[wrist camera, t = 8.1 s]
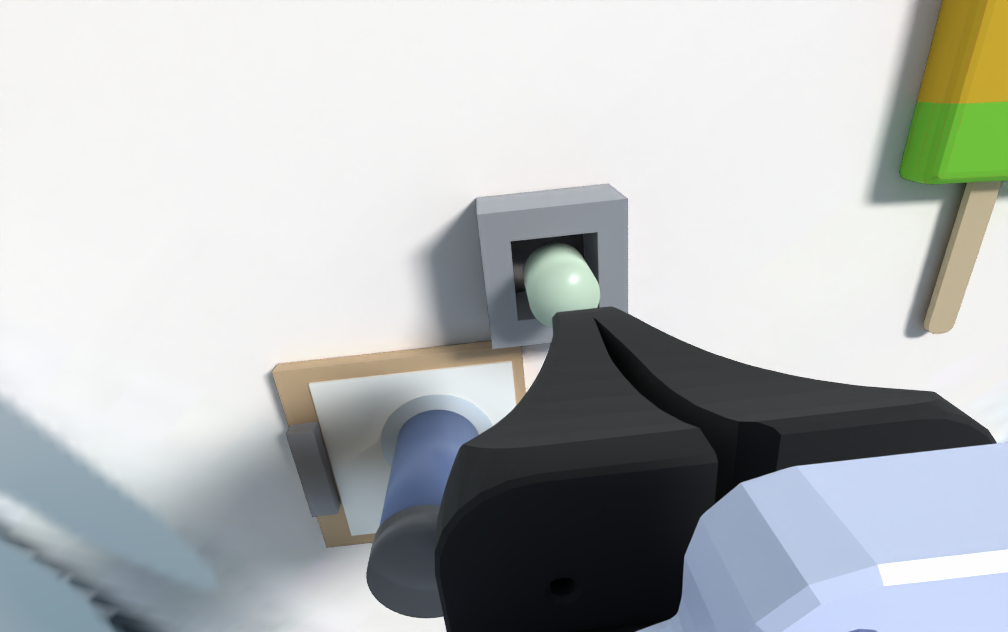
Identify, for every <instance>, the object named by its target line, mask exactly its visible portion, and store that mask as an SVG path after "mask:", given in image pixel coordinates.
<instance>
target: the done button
mask: <svg viewBox="0 0 1008 632" xmlns="http://www.w3.org/2000/svg"><path fill="white" fill-rule="evenodd" d="M523 280H524V285H525V289H526V293H527V297H528V301H529V305H530V308H531V311H532V313H533V315H534V316H535V318H536V319H537V320H538V321H539V322H541V323H542V324H543V325H545V326H547V327H550V328H553V326H552V317H553V316H554V315H555V314H556V313H557V312H564V311H573V310H582V309H591V308H597V307H598V304H599V300H600V288H599V284H598V282H597V280H596V278H595V277H594V275H593V273H592V272H591V270H590V268H589V267H588V265H587V263H586V262H585V260H584V258H583V257H582V255H581V254H580V253H579V252H578V251H577V250H576V249H575V248H574V247H572V246H570V245H567V244H564V243H548V244H545V245H543V246H541V247H539V248H537V249H536V250H535V251H533V252H532V253H531V254H530V256H529V257H528V259H527V260H526V262H525V265H524V269H523Z"/></svg>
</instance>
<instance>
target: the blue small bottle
mask: <svg viewBox="0 0 1008 632" xmlns="http://www.w3.org/2000/svg"><path fill="white" fill-rule="evenodd" d="M478 435H479V434H478V431H477V430H476V428H475V426H474V425H473V424H472V423H471V422H470V421H469V420H468V419H467V418H465V417H464V416H462V415H460V414H458V413H455V412H452V411H448V410H429V411H425V412H421V413H419V414H417V415H415V416H413V417H412V418H410V419H409V420H408V421H407V422H406V423H405V424H404V425H403V426H402V428H401V429H400V431H399V434H398V437H397V442H396V447H395V452H394V457H393V462H392V467H391V472H390V477H389V482H388V486H387V491H386V496H385V501H384V506H383V511H382V516H381V521H380V526H379V528H378V530H377V531H376V533H375V536H374V539H373V543H372V548H371V553H370V558H369V562H368V567H367V583H368V586H369V589H370V591H371V592H372V594H373V595H374V597H375V598H376V599H377V600H378V601H379V602H380V603H381V604H383V605H384V606H385V607H387V608H389V609H390V610H392V611H394V612H397V613H399V614H402V615H406V616H410V617H416V618H437V617H443V611H442V606H441V601H440V597H439V592H438V587H437V582H436V577H435V557H434V552H435V538H436V526H437V519H438V514H439V510H440V505H441V501H442V497H443V493H444V489H445V486H446V483H447V480H448V477H449V474H450V471H451V468H452V466H453V463H454V460H455V458H456V455H457V453H458V450H459V448H460V447H461V446H462V445H463V444H464V443H466V442H468V441H470V440H471V439H473V438H475V437H476V436H478Z"/></svg>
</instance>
